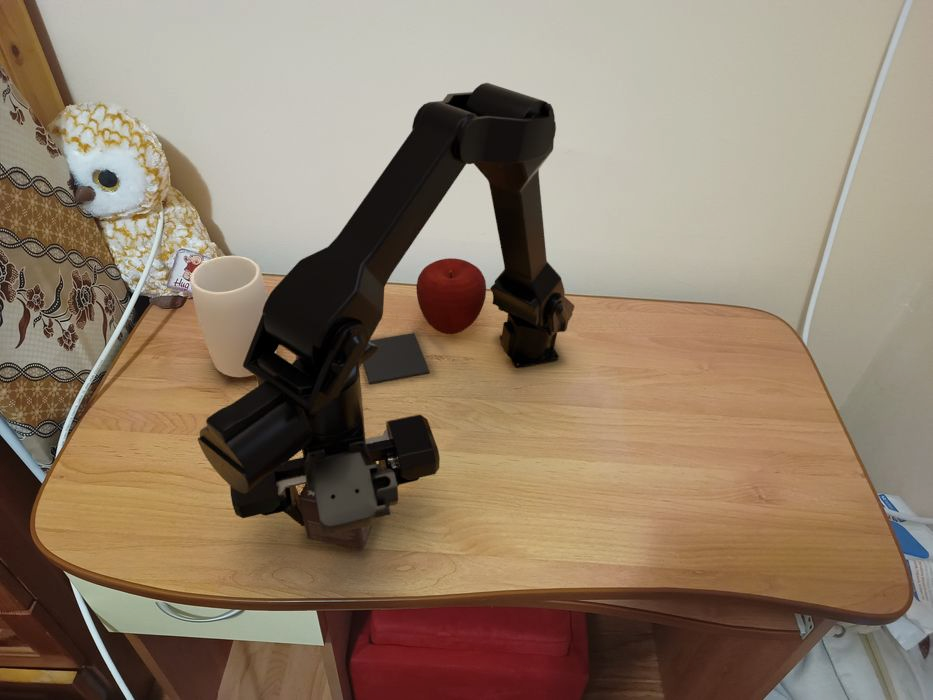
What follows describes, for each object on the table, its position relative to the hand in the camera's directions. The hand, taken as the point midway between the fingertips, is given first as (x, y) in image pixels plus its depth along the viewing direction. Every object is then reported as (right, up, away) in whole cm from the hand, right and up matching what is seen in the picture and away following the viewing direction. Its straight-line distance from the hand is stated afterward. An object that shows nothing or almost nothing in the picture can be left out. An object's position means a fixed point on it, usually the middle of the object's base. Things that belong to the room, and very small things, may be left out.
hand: (343, 512), depth 64 cm
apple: (+10, +20, +26) cm, 34 cm away
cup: (-16, +15, +18) cm, 28 cm away
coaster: (+3, +16, +20) cm, 25 cm away
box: (0, -1, +1) cm, 2 cm away
